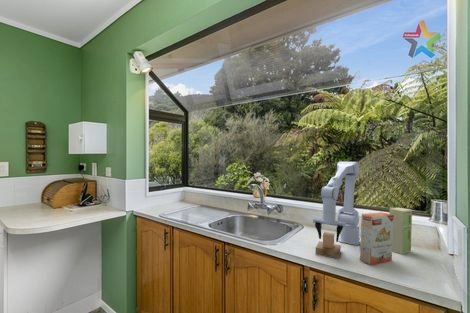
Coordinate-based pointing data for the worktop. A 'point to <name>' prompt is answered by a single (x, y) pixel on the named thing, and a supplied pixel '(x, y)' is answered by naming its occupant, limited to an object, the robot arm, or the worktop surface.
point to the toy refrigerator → (401, 230)
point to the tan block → (328, 240)
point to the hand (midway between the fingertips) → (328, 239)
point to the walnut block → (328, 250)
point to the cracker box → (376, 238)
